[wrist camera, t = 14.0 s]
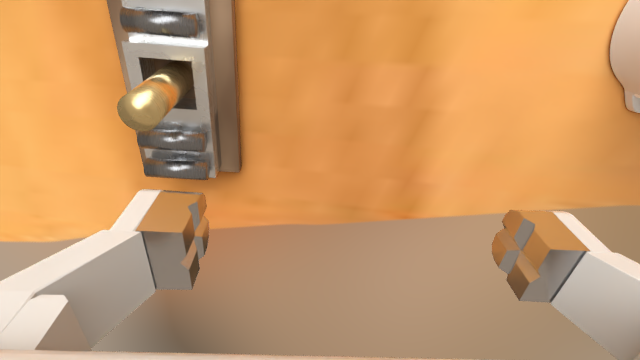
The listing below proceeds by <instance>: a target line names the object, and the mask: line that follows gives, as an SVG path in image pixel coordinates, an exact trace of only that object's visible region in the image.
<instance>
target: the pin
mask: <svg viewBox="0 0 640 360" xmlns="http://www.w3.org/2000/svg"><path fill="white" fill-rule="evenodd" d="M193 85H194V79H193V70H192V68H191V67H190V66H189V65H188V64H187V63H185V62H183V61H180V60H174V61H171V62H169V63H168V64H166V65H165V66H164V67H162V68H161V69H160V70H158V71H157V72H156V73H154V74H153V75H152V76H150V77H149V78H147V79H146V80H145V81H143V82H142V83H141V84H139V85H138V86H137V87H135V88H134V89H133V90H131V91H130V92H128V93H127V94H126V95H124V96H123V97H122V98H121V99H120V100H119V102H118V106H117V110H118V114H119V116H120V118H121V119H122V121H123V122H124V123H125V124H126V125H127V126H129V127H130V128H132V129H134V130H137V131H150V130H152V129H154V128H155V127H156V126H157V125H158V124H159V123H160V121H161V120H162V119H163V118H164V117H165V116H166V115H167V114H168V113H169V112H170V110H171V109H172V108H173V107H174V106H175V105H176V104H177V103H178V102H179V101H180V100H181V98H182V97H183V96H184V95H185V94H186V93H187V92H188V91H189V90H190V89H191V88H192V86H193Z"/></svg>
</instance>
